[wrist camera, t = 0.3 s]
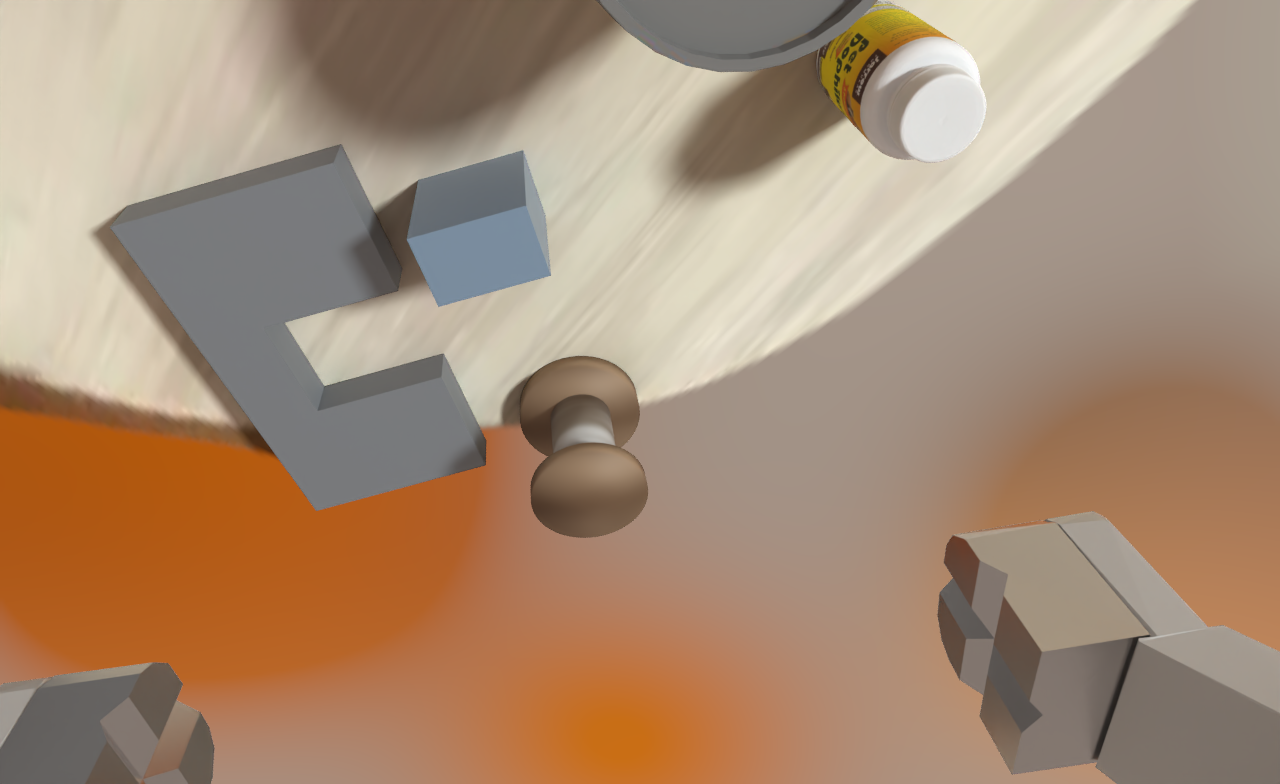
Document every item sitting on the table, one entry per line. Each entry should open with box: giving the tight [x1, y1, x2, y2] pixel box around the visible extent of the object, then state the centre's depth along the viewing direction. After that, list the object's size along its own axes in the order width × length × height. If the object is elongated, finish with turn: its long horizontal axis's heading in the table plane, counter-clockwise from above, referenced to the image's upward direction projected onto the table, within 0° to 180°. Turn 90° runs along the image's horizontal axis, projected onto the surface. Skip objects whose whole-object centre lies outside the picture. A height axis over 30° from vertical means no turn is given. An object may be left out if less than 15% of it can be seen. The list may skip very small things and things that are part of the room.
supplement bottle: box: [817, 0, 986, 163], centre depth 39 cm, size 6×6×10 cm
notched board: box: [110, 144, 486, 511], centre depth 49 cm, size 22×12×2 cm, turn 13°
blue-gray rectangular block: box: [407, 150, 551, 307], centre depth 43 cm, size 4×6×7 cm, turn 103°
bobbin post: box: [520, 356, 648, 538], centre depth 52 cm, size 8×8×9 cm
